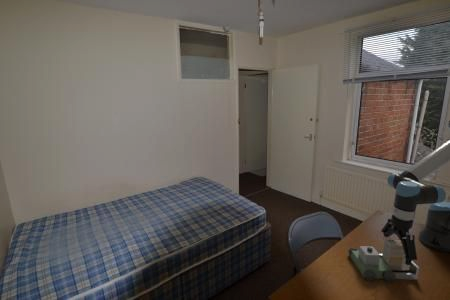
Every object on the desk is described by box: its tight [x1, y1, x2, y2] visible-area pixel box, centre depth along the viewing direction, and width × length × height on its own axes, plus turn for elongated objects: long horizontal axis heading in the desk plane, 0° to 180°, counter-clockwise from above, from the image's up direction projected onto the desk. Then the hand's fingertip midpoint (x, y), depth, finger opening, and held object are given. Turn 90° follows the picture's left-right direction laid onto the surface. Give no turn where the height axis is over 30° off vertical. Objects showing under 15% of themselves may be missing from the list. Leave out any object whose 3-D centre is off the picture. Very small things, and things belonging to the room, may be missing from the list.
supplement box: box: [381, 239, 405, 271], centre depth 105 cm, size 8×5×13 cm, turn 82°
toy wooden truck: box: [347, 245, 396, 282], centre depth 106 cm, size 12×16×10 cm
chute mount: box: [379, 253, 420, 281], centre depth 105 cm, size 11×13×6 cm
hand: (394, 258), depth 105 cm, fingers open, 13 cm apart
